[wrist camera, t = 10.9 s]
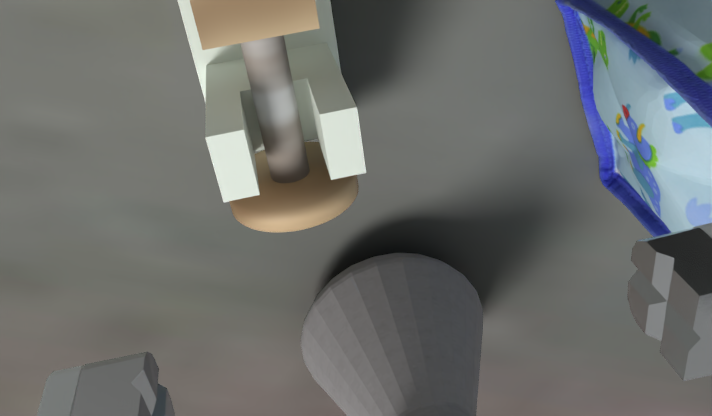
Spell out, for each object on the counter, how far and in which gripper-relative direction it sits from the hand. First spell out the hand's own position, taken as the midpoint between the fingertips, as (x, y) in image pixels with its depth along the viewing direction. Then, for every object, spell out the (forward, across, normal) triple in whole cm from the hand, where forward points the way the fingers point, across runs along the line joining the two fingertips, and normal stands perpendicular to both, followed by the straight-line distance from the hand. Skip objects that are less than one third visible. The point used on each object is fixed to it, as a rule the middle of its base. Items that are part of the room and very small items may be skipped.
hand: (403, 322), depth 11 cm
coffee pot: (+25, +1, +24) cm, 35 cm away
